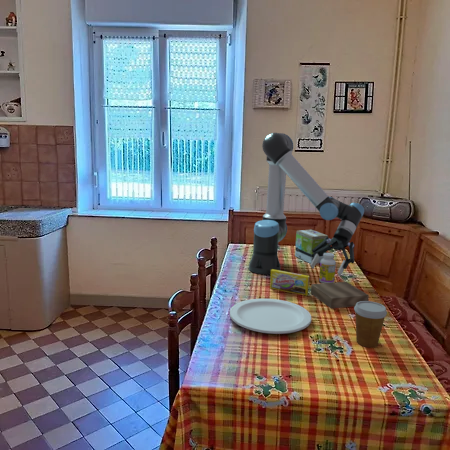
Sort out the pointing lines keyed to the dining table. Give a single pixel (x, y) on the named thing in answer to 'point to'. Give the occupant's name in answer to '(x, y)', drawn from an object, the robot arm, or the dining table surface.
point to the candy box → (289, 282)
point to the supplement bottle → (327, 268)
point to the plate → (270, 316)
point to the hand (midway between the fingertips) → (325, 270)
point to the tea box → (308, 244)
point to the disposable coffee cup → (369, 322)
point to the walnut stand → (338, 294)
